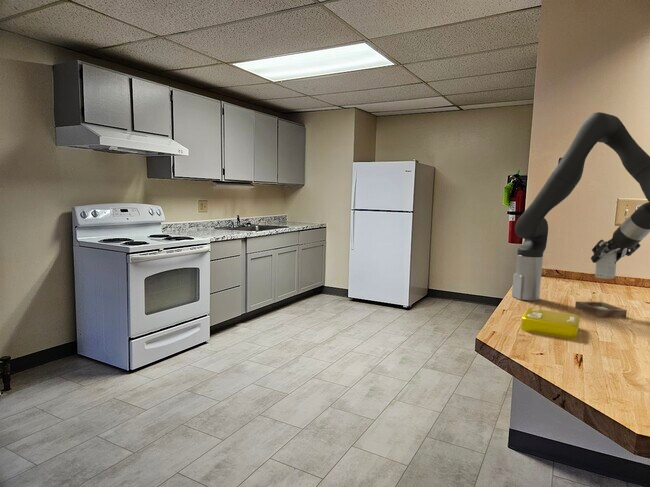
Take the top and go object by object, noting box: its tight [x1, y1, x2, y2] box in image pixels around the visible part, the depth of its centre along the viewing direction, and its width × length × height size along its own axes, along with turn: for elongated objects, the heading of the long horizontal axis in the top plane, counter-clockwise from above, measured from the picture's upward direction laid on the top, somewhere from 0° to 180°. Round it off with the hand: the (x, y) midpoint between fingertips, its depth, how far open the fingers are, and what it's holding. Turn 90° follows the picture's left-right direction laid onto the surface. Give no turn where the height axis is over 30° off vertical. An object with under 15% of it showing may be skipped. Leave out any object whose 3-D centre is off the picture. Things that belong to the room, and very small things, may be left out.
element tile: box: [520, 307, 580, 340], centre depth 132 cm, size 15×15×5 cm
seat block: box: [574, 301, 628, 319], centre depth 152 cm, size 10×12×2 cm
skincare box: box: [594, 247, 617, 280], centre depth 150 cm, size 6×4×12 cm
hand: (602, 260), depth 152 cm, fingers closed on skincare box, 7 cm apart
